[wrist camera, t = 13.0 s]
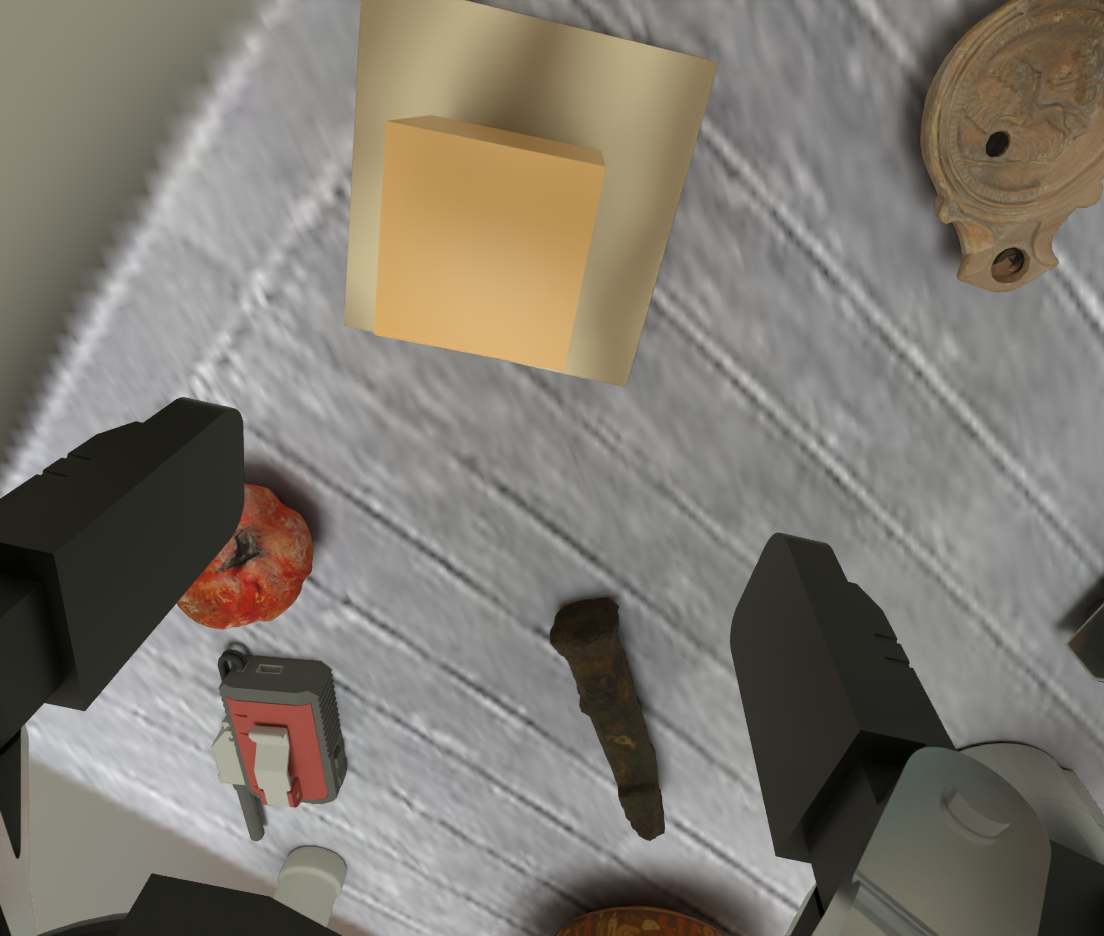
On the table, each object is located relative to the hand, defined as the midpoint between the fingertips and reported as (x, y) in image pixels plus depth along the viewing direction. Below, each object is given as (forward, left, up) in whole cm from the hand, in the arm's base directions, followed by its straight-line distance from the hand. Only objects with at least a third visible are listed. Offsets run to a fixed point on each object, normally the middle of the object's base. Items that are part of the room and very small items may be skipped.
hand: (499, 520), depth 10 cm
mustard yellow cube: (+2, -1, -18) cm, 18 cm away
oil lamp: (-16, -8, -23) cm, 29 cm away
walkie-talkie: (+12, +39, -23) cm, 47 cm away
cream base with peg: (+2, -1, -22) cm, 22 cm away
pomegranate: (+13, +19, -23) cm, 32 cm away
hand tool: (-10, +28, -23) cm, 37 cm away
